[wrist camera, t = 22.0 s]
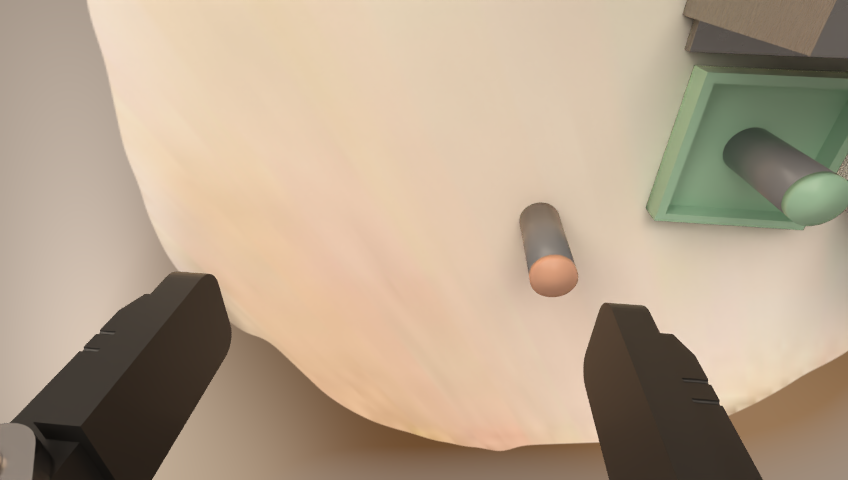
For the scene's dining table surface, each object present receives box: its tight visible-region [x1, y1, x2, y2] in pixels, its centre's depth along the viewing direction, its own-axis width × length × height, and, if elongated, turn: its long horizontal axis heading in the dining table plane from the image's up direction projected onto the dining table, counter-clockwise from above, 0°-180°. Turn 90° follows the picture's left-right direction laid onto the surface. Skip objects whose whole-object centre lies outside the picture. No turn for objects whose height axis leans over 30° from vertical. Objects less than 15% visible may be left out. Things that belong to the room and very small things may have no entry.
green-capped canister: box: [723, 127, 848, 226], centre depth 36 cm, size 4×4×10 cm
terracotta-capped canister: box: [520, 203, 578, 297], centre depth 42 cm, size 4×4×10 cm
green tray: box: [646, 65, 848, 230], centre depth 40 cm, size 14×14×2 cm
